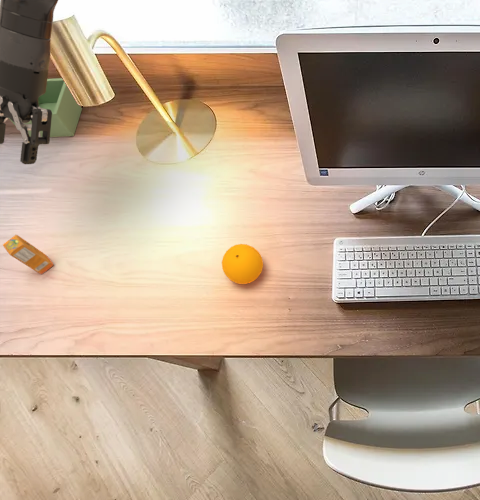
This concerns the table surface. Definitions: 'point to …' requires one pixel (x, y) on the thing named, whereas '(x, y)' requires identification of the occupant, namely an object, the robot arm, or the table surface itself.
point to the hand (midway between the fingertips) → (11, 153)
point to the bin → (59, 108)
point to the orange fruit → (242, 263)
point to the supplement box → (28, 254)
